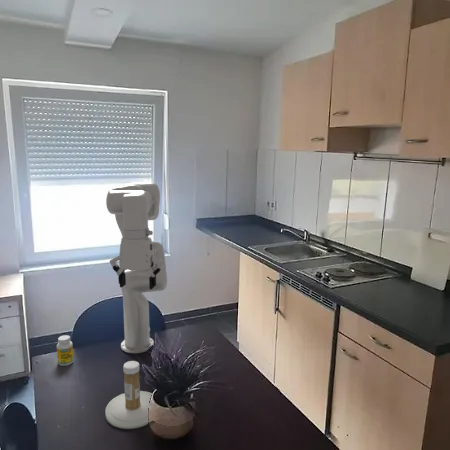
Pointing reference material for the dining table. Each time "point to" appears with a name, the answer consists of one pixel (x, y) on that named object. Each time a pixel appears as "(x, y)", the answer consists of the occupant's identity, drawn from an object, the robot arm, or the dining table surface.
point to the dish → (128, 412)
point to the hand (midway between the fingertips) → (137, 286)
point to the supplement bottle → (65, 350)
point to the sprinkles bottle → (132, 385)
